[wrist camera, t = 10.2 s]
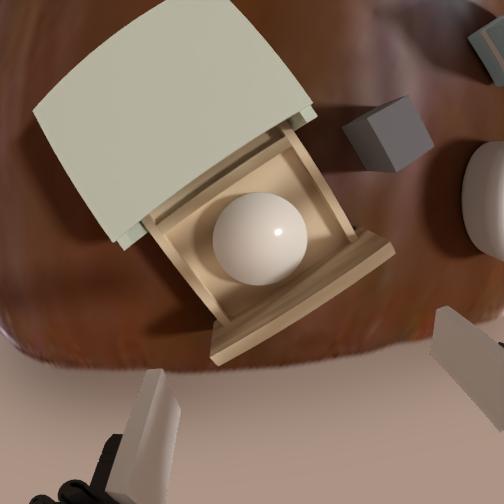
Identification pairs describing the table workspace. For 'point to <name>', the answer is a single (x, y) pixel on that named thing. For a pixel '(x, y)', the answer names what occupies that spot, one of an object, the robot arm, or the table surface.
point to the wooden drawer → (301, 279)
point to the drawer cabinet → (165, 108)
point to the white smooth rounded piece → (259, 238)
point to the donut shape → (485, 199)
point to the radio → (491, 48)
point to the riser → (389, 136)
